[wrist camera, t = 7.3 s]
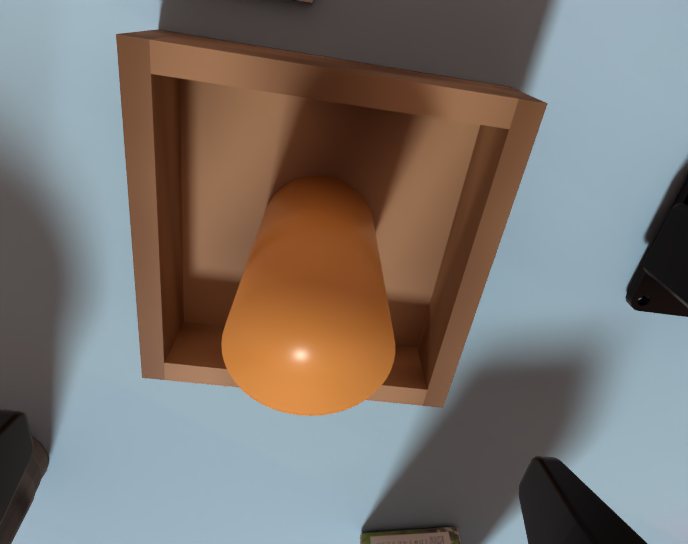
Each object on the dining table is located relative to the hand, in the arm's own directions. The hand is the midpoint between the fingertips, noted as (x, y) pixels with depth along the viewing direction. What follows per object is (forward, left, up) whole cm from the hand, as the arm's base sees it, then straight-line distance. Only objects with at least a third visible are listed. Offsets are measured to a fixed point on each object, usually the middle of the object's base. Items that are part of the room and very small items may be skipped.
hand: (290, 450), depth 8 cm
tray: (0, 0, -10) cm, 10 cm away
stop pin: (0, 0, -10) cm, 10 cm away
